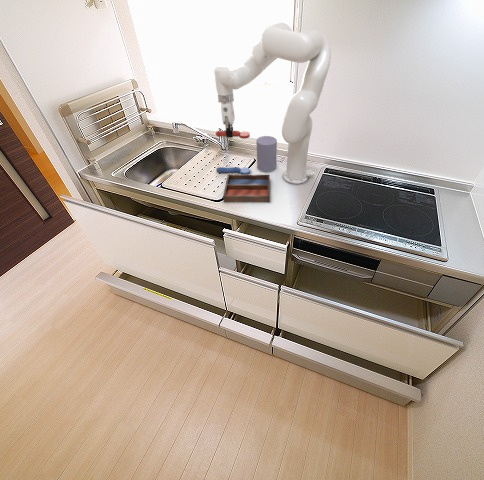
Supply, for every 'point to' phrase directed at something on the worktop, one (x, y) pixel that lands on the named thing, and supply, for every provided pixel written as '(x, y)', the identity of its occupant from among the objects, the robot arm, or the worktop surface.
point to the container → (266, 153)
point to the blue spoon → (233, 170)
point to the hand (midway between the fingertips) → (230, 135)
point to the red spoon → (234, 134)
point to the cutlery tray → (247, 188)
